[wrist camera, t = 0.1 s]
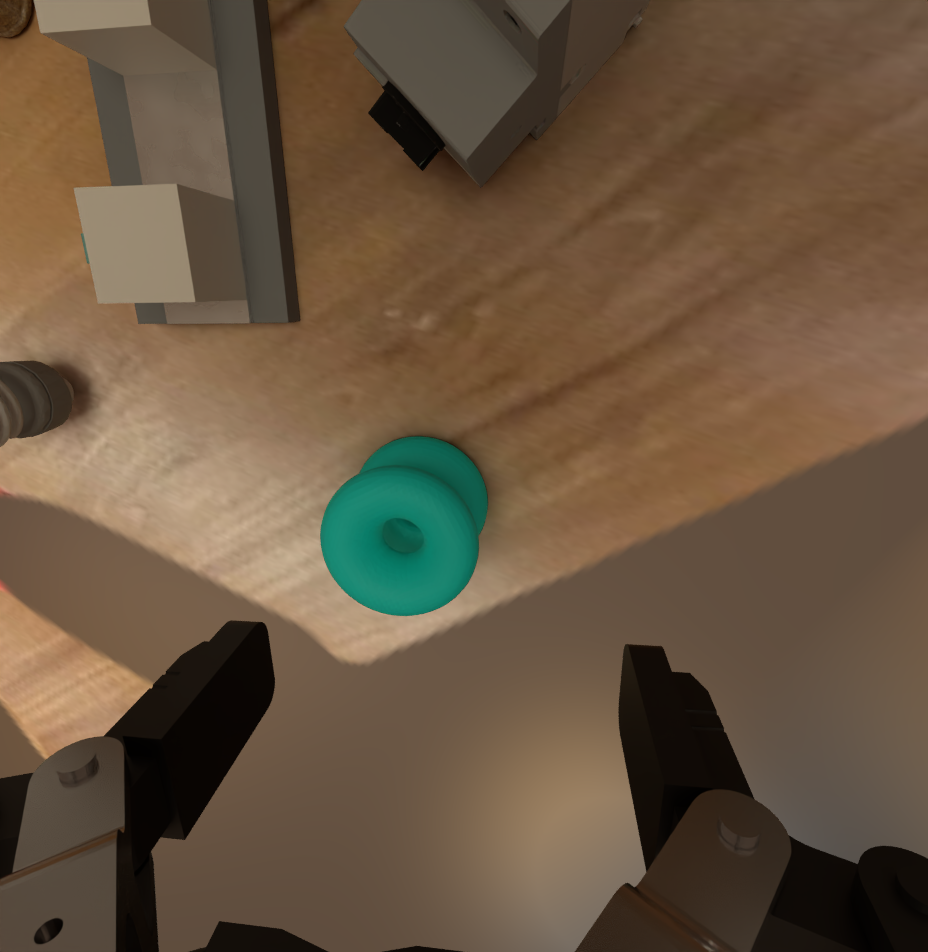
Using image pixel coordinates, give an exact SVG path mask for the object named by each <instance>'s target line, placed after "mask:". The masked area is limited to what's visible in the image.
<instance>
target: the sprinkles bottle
mask: <svg viewBox="0 0 928 952" xmlns="http://www.w3.org/2000/svg"><path fill="white" fill-rule="evenodd" d="M31 1H32V0H0V36H2V37H13V36H15V35H18V34H19V33H20V32H21V31H22V30H23V29H24V27H26V26H27V23H28V21H29V19H30V15H31V6H32V4H31Z"/></svg>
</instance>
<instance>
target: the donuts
mask: <svg viewBox="0 0 928 952" xmlns="http://www.w3.org/2000/svg"><path fill="white" fill-rule="evenodd" d="M487 509H488V497H487V491H486V487H485V483H484V481H483V478H482V476H481V474H480V472H479V471H478V469H477V467H476V466H475V465H474V463H473V462H472V461H471V460H470V459H469V458H468V457H467V456H466V455H465V454H464V453H463V452H462V451H460V450H459V449H458V448H456V447H455V446H453V445H451V444H449V443H447V442H444V441H442V440H439V439H435V438H431V437H423V436H414V437H405V438H401V439H397V440H394V441H392V442H390V443H388V444H386V445H384V446H382V447H381V448H380V449H378V450H377V451H376V452H375V453H374V454H373V455H372V456H371V457H370V458H369V459H368V460H367V461H366V463H365V464H364V466H363V467H362V469H361V471H360V473H359V474H358V475H356V476H354V477H353V478H351V479H350V480H348V481H347V482H346V483H345V484H344V485H342V486H341V487H340V489H339V490H338V491H337V492H336V493H335V494H334V496H333V497H332V499H331V500H330V502H329V504H328V506H327V508H326V510H325V513H324V516H323V520H322V524H321V533H320V539H321V548H322V553H323V556H324V560H325V562H326V565H327V567H328V569H329V571H330V573H331V575H332V576H333V578H334V580H335V581H336V582H337V584H338V585H339V586H340V587H341V588H342V589H343V590H344V591H345V592H346V593H347V594H348V595H349V596H350V597H352V598H353V599H354V600H356V601H357V602H359V603H360V604H362V605H364V606H366V607H368V608H370V609H372V610H375V611H378V612H381V613H385V614H389V615H397V616H412V615H419V614H424V613H427V612H431V611H434V610H436V609H438V608H440V607H442V606H444V605H446V604H447V603H449V602H450V601H452V600H453V599H454V598H455V597H456V596H457V595H458V594H459V593H460V592H461V591H462V590H463V589H464V587H465V586H466V585H467V583H468V582H469V580H470V578H471V576H472V574H473V572H474V569H475V566H476V563H477V559H478V552H479V538H478V536H479V534H480V532H481V530H482V528H483V526H484V523H485V520H486V516H487Z"/></svg>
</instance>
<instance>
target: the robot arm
mask: <svg viewBox="0 0 928 952" xmlns="http://www.w3.org/2000/svg"><path fill="white" fill-rule="evenodd" d="M274 688H275V677H274V670H273V663H272V656H271V649H270V643H269V636H268V630H267V627H266V625H265V624H264V623H263V622H249V621H229V622H227V623H226V624H225V625H224V626H223V627H222V628H221V629H220V630H219V631H218V632H217V633H216V634H215V636H214V637H213V638H212V639H211V640H210V641H209V642H205V641H204V642H202V643H200V644H199V645H197V646H195V647H194V648H192V649H191V650H189V651H187V652H186V653H184V654H183V655H181V656H180V657H179V658H178V659H177V660H176V661H175V662H174V663H173V664H172V666H171V667H170V668H169V669H168V670H167V671H166V674H165V675H162V676H161V677H160V678H159V679H158V680H157V681H156V682H155V683H154V684H153V688H152V689H151V688H149V689H148V691H147V692H146V693H145V694H144V695H143V696H142V697H141V698H140V699H139V700H138V701H137V702H136V703H135V704H134V705H133V706H132V707H131V708H130V709H129V710H128V711H127V712H126V713H125V715H124V716H123V717H122V718H121V719H120V720H119V721H118V722H117V723H116V724H115V725H114V726H113V727H112V728H111V729H110V730H109V731H108V732H107V733H106V734H105V735H104V736H101V737H93V738H88V739H84V740H81V741H78V742H75V743H73V744H71V745H68V746H66V747H64V748H63V749H61V750H59V751H57V752H56V753H54V754H53V755H52V756H50V757H49V758H48V759H46V760H45V761H44V762H43V763H42V764H41V765H40V766H39V767H38V768H37V769H36V771H35V772H34V773H29V774H23V775H18V776H12V777H6V778H1V779H0V952H159V945H158V929H157V911H156V894H155V878H154V862H153V857H152V853H151V850H152V849H153V847H154V846H155V845H156V843H157V842H158V840H159V839H160V837H163V838H172V839H182V840H185V839H186V837H187V836H188V834H189V833H190V831H191V829H192V828H193V826H194V825H195V823H196V821H197V820H198V818H199V817H200V815H201V814H202V812H203V810H204V809H205V807H206V806H207V804H208V802H209V801H210V799H211V798H212V796H213V795H214V793H215V791H216V790H217V788H218V787H219V785H220V784H221V782H222V780H223V779H224V777H225V776H226V774H227V773H228V771H229V769H230V768H231V766H232V765H233V763H234V761H235V760H236V758H237V757H238V755H239V753H240V752H241V750H242V749H243V747H244V746H245V744H246V742H247V741H248V739H249V738H250V736H251V735H252V733H253V731H254V730H255V728H256V726H257V725H258V723H259V722H260V720H261V718H262V717H263V716H264V714H265V712H266V711H267V709H268V707H269V706H270V703H271V701H272V698H273V693H274ZM619 729H620V736H621V741H622V747H623V752H624V757H625V763H626V768H627V773H628V778H629V784H630V789H631V794H632V799H633V804H634V809H635V815H636V820H637V825H638V830H639V836H640V841H641V846H642V851H643V856H644V862H645V866H646V874H645V875H644V877H643V878H642V880H641V881H640V882H639V884H638V885H637V886H636V887H633V886H632V885H630V884H629V883H625V884H624V885H622V886H621V887H620V888H619V889H618V890H617V891H616V893H615V894H614V895H613V897H612V898H611V900H610V901H609V903H608V904H607V905H606V907H605V908H604V910H603V911H602V913H601V914H600V916H599V917H598V919H597V920H596V922H595V923H594V925H593V926H592V927H591V929H590V930H589V932H588V933H587V935H586V936H585V938H584V939H583V940H582V942H581V943H580V945H579V946H578V948H577V950H576V951H575V952H928V859H927V858H925V857H923V856H921V855H919V854H917V853H914V852H912V851H909V850H906V849H902V848H898V847H892V846H878V847H873V848H870V849H868V850H867V851H865V852H864V853H863V854H862V856H861V857H860V860H859V863H858V864H856V863H853V862H850V861H848V860H845V859H842V858H839V857H837V856H834V855H831V854H828V853H826V852H823V851H820V850H817V849H815V848H812V847H809V846H807V845H805V844H803V843H801V842H799V841H797V840H795V839H794V838H792V837H791V836H789V835H788V833H787V831H786V829H785V828H784V826H783V824H782V823H781V822H780V821H779V819H778V818H777V817H776V816H775V815H774V814H773V813H772V812H771V811H770V810H769V809H768V808H766V807H765V806H764V805H763V804H761V803H759V802H758V801H756V800H755V799H754V797H753V795H752V792H751V790H750V788H749V785H748V783H747V781H746V778H745V776H744V774H743V772H742V769H741V767H740V765H739V762H738V760H737V758H736V755H735V753H734V751H733V748H732V746H731V744H730V741H729V739H728V737H727V734H726V733H725V732H724V727H723V725H722V723H721V720H720V718H719V716H718V715H717V712H716V709H715V707H714V704H713V702H712V700H711V697H710V695H709V692H708V691H707V690H706V689H705V688H704V687H703V686H702V685H701V684H700V683H699V682H698V681H697V680H696V679H695V678H694V677H693V676H692V675H691V674H690V673H682V672H672V671H671V668H670V665H669V663H668V660H667V657H666V654H665V651H664V649H663V647H662V646H648V645H631V644H630V645H629V644H626V645H625V647H624V653H623V663H622V674H621V685H620V696H619ZM190 952H328V951H326V950H324V949H321V948H319V947H317V946H315V945H313V944H311V943H309V942H307V941H305V940H303V939H301V938H299V937H297V936H295V935H293V934H291V933H288V932H287V931H285V930H283V929H277V928H269V927H261V926H253V925H245V924H236V923H229V922H221V921H219V923H218V925H217V927H216V929H215V931H214V933H213V935H212V937H211V939H210V941H209V943H208V945H207V947H205V948H200V949H196V950H193V951H190ZM384 952H461V951H453V950H445V949H437V948H429V947H421V946H414V947H408V948H402V949H396V950H390V951H384Z"/></svg>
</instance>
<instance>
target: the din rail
mask: <svg viewBox="0 0 928 952" xmlns="http://www.w3.org/2000/svg"><path fill="white" fill-rule="evenodd" d="M208 8H209V15H210V23H211V30H212V38H213V46H214V53H215V61H216V68H217V70H207V71H191V72H175V73H160V74H144V75H129V76H123V77H124V82H125V88H126V94H127V99H128V105H129V111H130V116H131V122H132V128H133V133H134V139H135V145H136V150H137V156H138V161H139V167H140V173H141V178H142V184H143V185H158V184H179V185H182V186H186V187H189V188H193V189H196V190H200V191H203V192H206V193H210V194H213V195H217V196H220V197H224V198H227V199H231V200H234V205H235V213H236V221H237V228H238V236H239V243H240V251H241V259H242V266H243V274H244V281H245V289H246V297H247V300H234V301H210V302H165V303H164V308H165V314H166V320H167V324H219V323H253V315H252V307H251V300H250V292H249V284H248V276H247V269H246V261H245V253H244V246H243V238H242V230H241V222H240V215H239V207H238V199H237V191H236V184H235V176H234V168H233V161H232V153H231V145H230V137H229V130H228V122H227V114H226V107H225V99H224V91H223V83H222V76H221V68H220V60H219V52H218V45H217V37H216V29H215V22H214V14H213V6H212V0H208Z"/></svg>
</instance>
